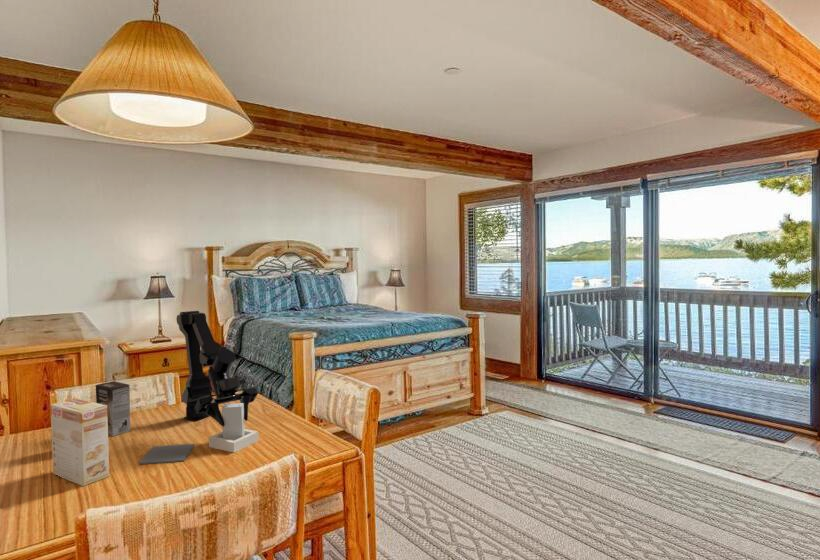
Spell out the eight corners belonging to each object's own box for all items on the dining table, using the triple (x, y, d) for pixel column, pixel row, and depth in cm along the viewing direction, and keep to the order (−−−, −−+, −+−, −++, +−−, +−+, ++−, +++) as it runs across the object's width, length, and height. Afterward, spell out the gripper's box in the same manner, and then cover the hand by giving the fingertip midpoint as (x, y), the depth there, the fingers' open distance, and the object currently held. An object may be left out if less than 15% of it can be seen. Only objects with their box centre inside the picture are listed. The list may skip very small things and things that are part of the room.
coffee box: (96, 432, 163) (94, 384, 162) (115, 426, 169) (113, 380, 168) (112, 437, 159) (110, 388, 158) (131, 430, 164) (130, 383, 164)
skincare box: (245, 439, 156) (244, 402, 155) (242, 444, 151) (242, 406, 151) (225, 440, 155) (224, 402, 154) (222, 445, 150) (221, 407, 150)
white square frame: (234, 435, 160) (233, 426, 160) (258, 440, 155) (258, 431, 155) (208, 447, 150) (208, 437, 150) (234, 452, 146) (234, 443, 146)
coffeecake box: (110, 476, 131) (108, 405, 130) (82, 487, 124) (79, 412, 123) (80, 464, 138) (77, 397, 137) (51, 474, 131) (49, 403, 130)
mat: (153, 448, 150) (153, 446, 150) (194, 445, 152) (194, 443, 152) (138, 464, 138) (138, 462, 138) (183, 461, 140) (183, 459, 140)
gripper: (197, 371, 148) (211, 416, 141) (255, 362, 161) (271, 403, 154) (189, 391, 154) (202, 435, 147) (245, 381, 167) (260, 421, 160)
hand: (235, 423), depth 152 cm, fingers closed on skincare box, 7 cm apart
